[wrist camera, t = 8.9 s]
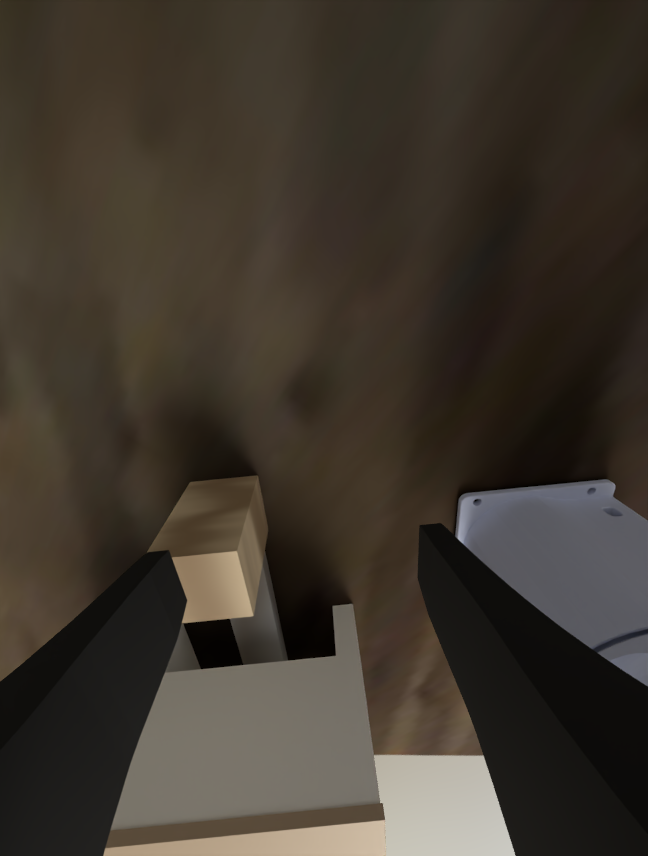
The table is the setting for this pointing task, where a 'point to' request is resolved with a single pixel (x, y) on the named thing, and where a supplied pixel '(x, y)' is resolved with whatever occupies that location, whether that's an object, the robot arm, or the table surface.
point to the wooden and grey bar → (226, 562)
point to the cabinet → (255, 760)
